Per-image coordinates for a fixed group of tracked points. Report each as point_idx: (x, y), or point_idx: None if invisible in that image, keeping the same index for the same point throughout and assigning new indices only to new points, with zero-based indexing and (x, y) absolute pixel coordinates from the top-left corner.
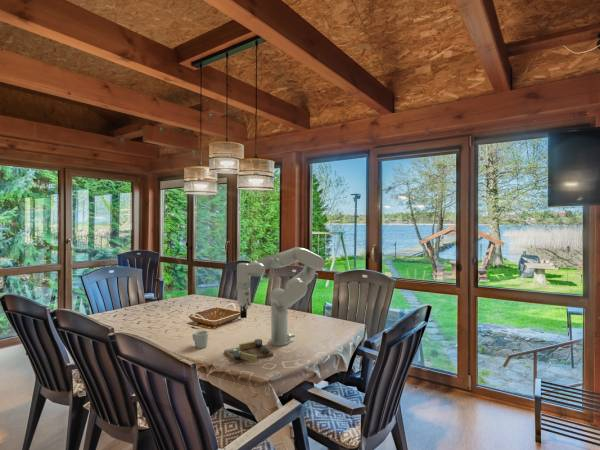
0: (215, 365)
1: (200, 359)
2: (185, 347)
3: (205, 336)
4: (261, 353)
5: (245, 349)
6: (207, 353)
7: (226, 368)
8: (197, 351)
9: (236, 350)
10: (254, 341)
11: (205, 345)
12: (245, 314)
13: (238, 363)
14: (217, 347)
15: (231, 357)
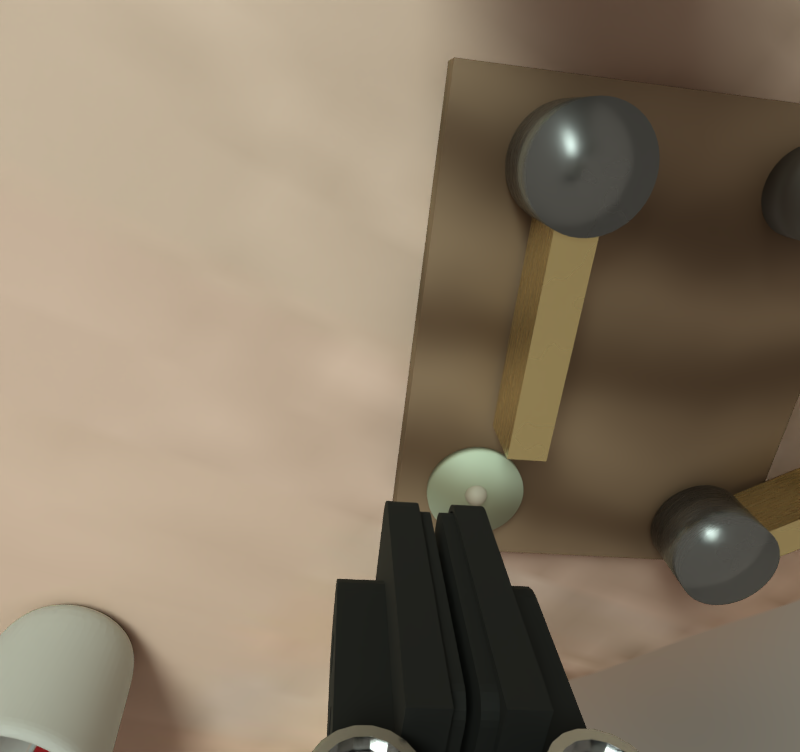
0: (605, 666)
1: None
2: None
3: (95, 740)
4: (787, 258)
5: None
6: (302, 644)
7: (724, 622)
8: (196, 694)
9: (685, 566)
10: (573, 238)
11: (123, 639)
12: (546, 643)
13: None
14: (187, 528)
15: (619, 556)
